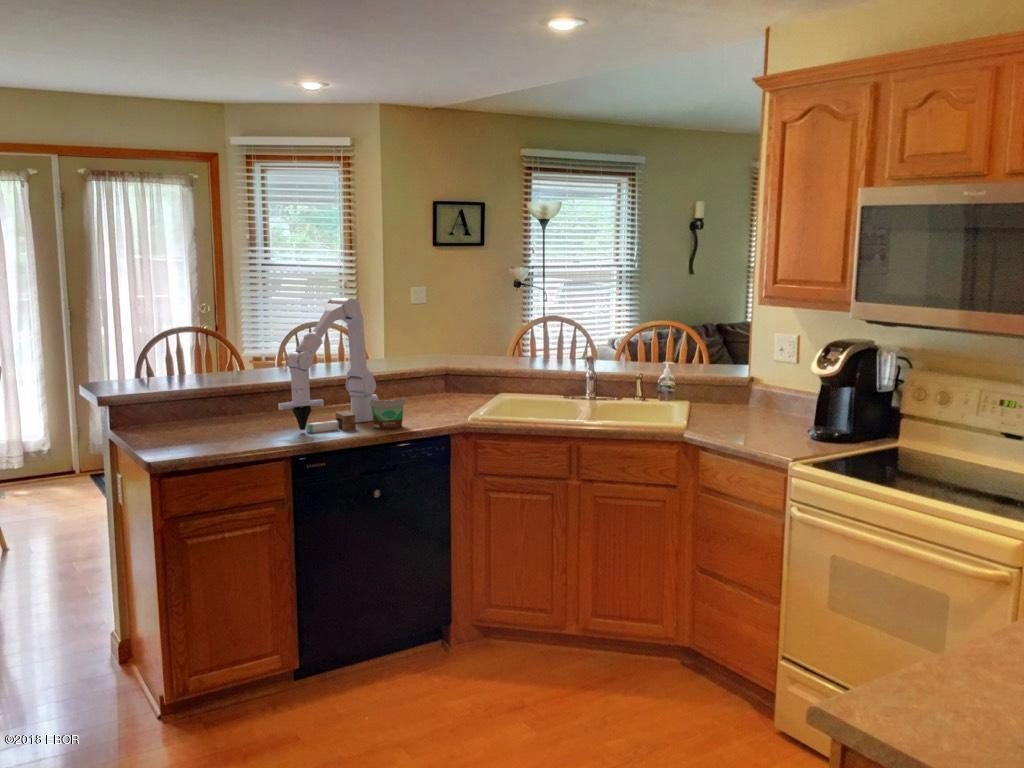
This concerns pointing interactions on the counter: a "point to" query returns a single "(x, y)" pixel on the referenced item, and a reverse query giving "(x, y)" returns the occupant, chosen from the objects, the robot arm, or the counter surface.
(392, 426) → the food container
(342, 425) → the angled brown block
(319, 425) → the white teal bar
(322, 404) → the robot arm
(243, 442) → the counter surface
